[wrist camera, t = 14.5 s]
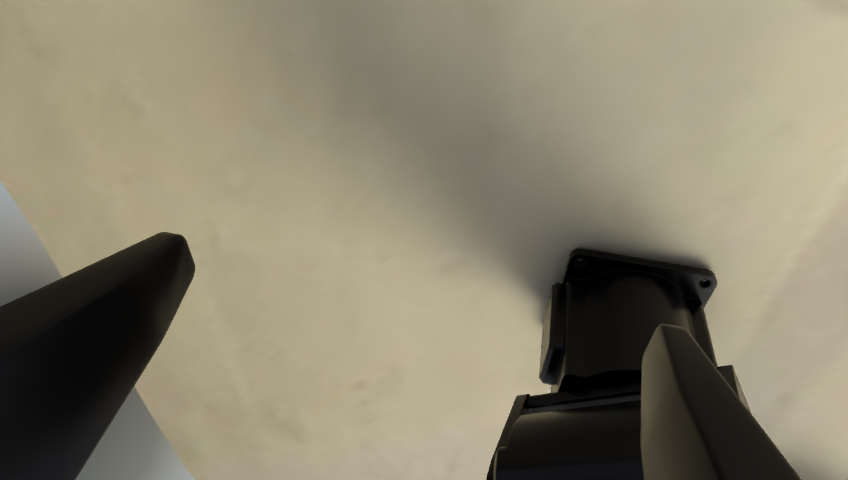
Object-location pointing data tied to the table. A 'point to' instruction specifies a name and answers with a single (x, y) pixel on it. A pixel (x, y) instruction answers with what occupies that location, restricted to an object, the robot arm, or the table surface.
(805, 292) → the table surface
